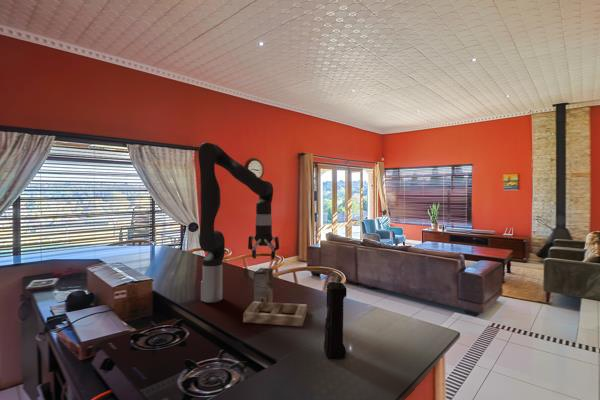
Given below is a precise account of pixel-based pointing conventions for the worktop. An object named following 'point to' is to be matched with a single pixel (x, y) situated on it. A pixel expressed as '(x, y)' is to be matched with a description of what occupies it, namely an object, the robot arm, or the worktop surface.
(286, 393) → the worktop surface
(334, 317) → the portable radio
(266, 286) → the coffee box
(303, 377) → the worktop surface
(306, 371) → the worktop surface
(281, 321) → the wooden divided tray
